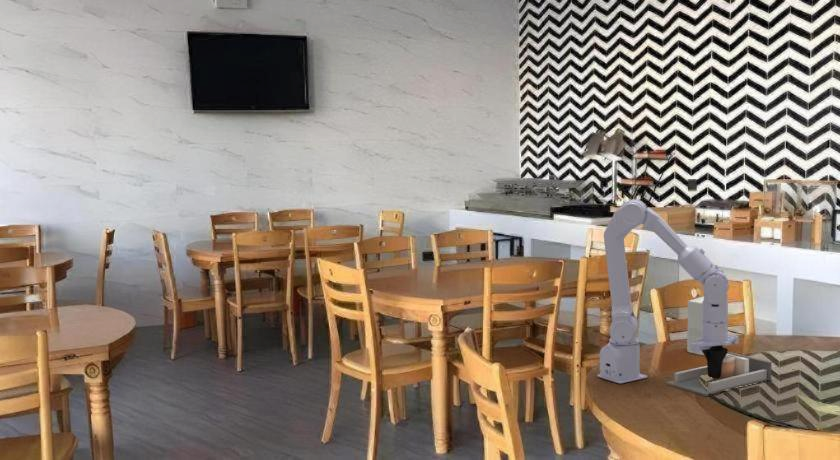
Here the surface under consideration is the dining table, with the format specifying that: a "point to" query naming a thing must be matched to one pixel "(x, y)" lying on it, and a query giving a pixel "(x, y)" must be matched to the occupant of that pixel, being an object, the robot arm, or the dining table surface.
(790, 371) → the dining table surface
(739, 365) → the follower
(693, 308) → the skincare box
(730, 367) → the jar
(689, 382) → the lane
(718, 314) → the robot arm
